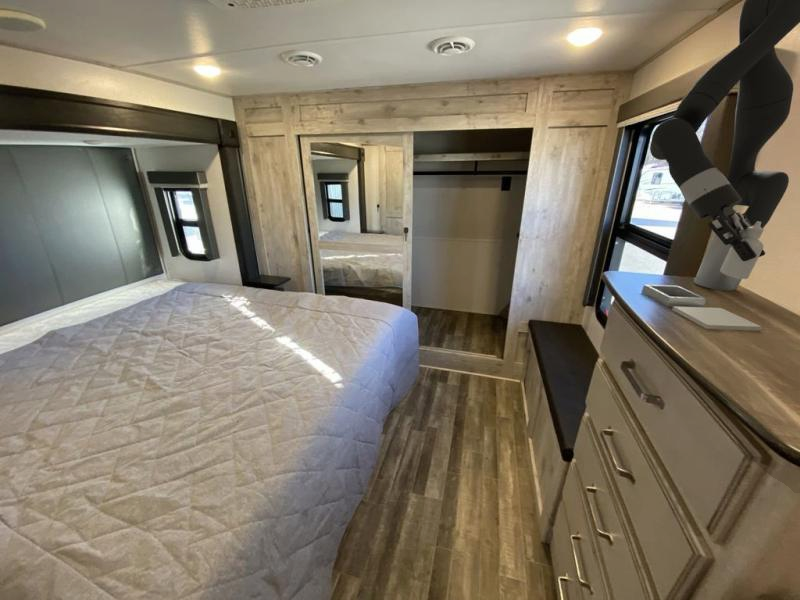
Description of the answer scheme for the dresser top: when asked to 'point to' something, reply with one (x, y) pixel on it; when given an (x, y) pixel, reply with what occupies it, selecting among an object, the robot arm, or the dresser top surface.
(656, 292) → the grey square tray
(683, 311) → the cream pad
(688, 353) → the dresser top surface
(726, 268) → the eye dropper bottle
